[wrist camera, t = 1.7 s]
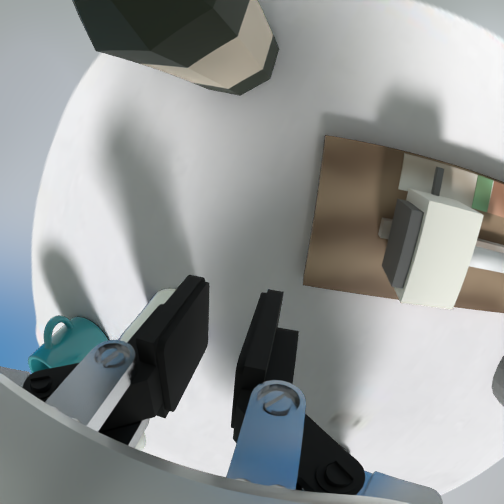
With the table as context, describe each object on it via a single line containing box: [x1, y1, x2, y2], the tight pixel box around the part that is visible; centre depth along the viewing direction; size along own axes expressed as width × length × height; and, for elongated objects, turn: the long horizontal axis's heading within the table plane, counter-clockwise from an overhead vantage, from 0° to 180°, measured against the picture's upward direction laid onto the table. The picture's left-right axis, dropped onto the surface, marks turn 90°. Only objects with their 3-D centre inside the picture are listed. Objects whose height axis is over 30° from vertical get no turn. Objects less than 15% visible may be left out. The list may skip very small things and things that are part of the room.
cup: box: [28, 315, 108, 373], centre depth 36 cm, size 9×12×11 cm
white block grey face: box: [382, 167, 504, 310], centre depth 20 cm, size 10×12×5 cm
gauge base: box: [303, 135, 504, 313], centre depth 21 cm, size 14×32×10 cm, turn 85°
